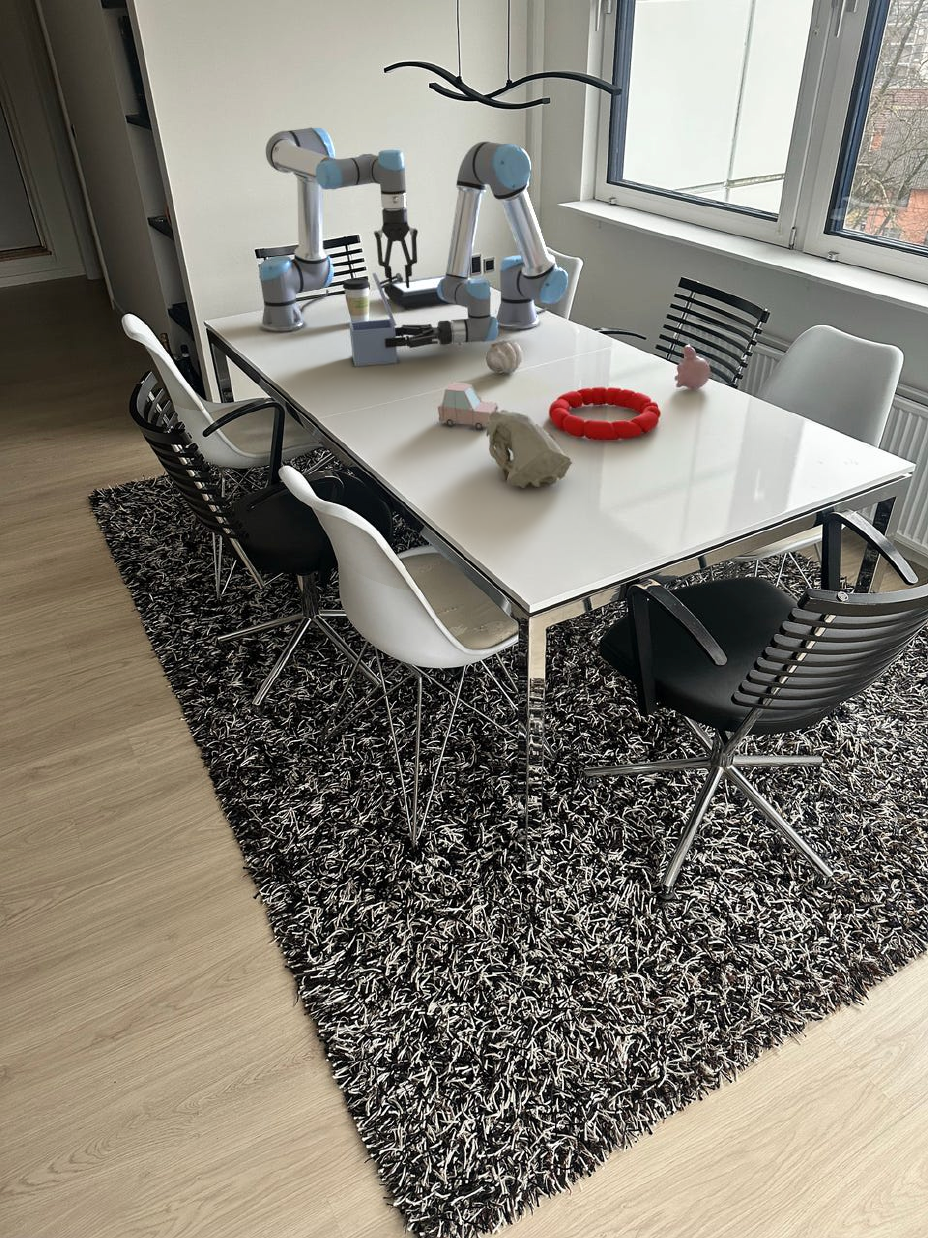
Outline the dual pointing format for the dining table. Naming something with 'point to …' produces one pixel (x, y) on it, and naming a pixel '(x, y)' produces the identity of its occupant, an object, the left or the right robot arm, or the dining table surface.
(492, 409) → the toy car
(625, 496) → the dining table surface
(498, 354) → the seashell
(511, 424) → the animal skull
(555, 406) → the decorative ring
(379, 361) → the chest
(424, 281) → the electronic device
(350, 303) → the coffee cup
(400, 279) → the lid
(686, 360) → the figurine
